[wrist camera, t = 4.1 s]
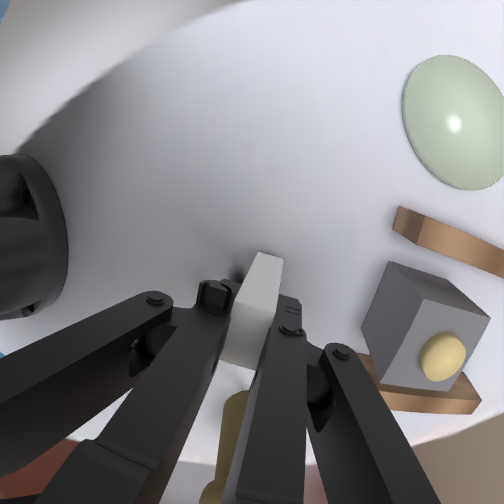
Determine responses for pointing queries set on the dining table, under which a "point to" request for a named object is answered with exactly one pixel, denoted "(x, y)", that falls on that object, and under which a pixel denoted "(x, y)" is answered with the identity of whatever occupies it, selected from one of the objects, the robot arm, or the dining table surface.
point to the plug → (421, 329)
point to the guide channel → (463, 249)
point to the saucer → (455, 122)
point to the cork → (226, 446)
